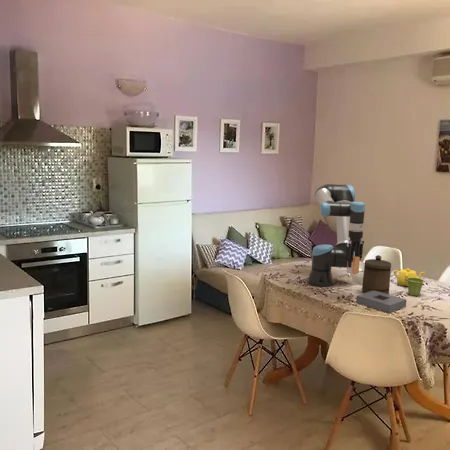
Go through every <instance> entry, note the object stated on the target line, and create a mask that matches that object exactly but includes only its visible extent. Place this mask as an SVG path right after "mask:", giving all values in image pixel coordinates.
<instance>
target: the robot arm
mask: <svg viewBox="0 0 450 450" xmlns="http://www.w3.org/2000/svg"><path fill="white" fill-rule="evenodd" d="M355 192H356V191H355V188H354V187H353V186H352V185H351V184H347V183H345V184H334V183H332V184H331V183H330V184H329V183H328V184H327V183H326V184H323V185H321V186H319V187H318V188H317V189H316V191H315V192H314V198H315V200H316V202H317V203H319V214H320V216H321V217H322V216H323V217H336V240H337V243H336V244H335V245H334V246H333V245H331V244H318V245H315V246H314V247H312V253H311V256H312V257H311V259H312V260H311V270H310V274H309V276H308V279H307V283H308V284H309V285H311V286H315V287H323V288H326V287H332V286H333V285H334V279H333V274H332V268H346V269H347V264H348V274H351V275H353V274H352V273H353V262H352V261H353V256H358V257H360V261H362V259H363V251H364V243H365V241H364V240H362V239H363V237H364V232H363V230H364V222H365V213H366V212H365V211H366V207H365V206H366V203H364V202H362V201H356V193H355Z"/></svg>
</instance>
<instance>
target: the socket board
mask: <svg viewBox="0 0 450 450" xmlns="http://www.w3.org/2000/svg"><path fill="white" fill-rule="evenodd" d="M355 302H356V303H357V304H358V305H362V306H366V307H369V308H372V309H374V310H375V309H376V310H378V311H382V312H384V313H388V314H390V313H393V312H396V311H398V310H401V309H404V308H406V307H407V302H408V300H407V299H406V298H403V297H399V296H396V295H393V294H390V293H389V294H385V293H382V292H378V291H375V290H373V291H370V292H367V293H363V292H362V293H361V294H357V295H356V301H355Z"/></svg>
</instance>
